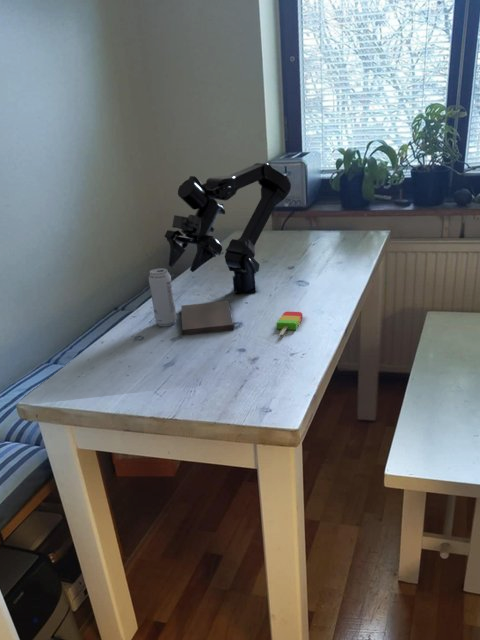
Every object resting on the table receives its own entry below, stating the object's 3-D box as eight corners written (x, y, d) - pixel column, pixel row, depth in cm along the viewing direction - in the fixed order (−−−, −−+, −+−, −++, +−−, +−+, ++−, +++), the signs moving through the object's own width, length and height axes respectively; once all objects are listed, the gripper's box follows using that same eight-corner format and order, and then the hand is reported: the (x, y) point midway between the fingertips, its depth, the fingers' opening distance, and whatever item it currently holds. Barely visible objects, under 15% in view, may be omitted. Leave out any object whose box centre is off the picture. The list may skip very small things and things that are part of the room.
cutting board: (228, 305, 182) (227, 300, 181) (233, 329, 165) (233, 324, 164) (181, 310, 181) (181, 305, 180) (182, 335, 164) (182, 329, 164)
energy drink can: (158, 319, 176) (149, 268, 168) (178, 318, 175) (171, 266, 167) (154, 327, 171) (145, 274, 162) (175, 326, 170) (167, 273, 162)
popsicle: (303, 317, 169) (303, 311, 168) (291, 338, 157) (290, 331, 156) (284, 317, 171) (284, 310, 170) (270, 337, 159) (270, 331, 158)
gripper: (164, 199, 170) (140, 249, 170) (209, 205, 159) (184, 258, 159) (188, 222, 179) (166, 269, 179) (233, 229, 168) (209, 279, 168)
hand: (180, 268), depth 171 cm, fingers open, 9 cm apart
